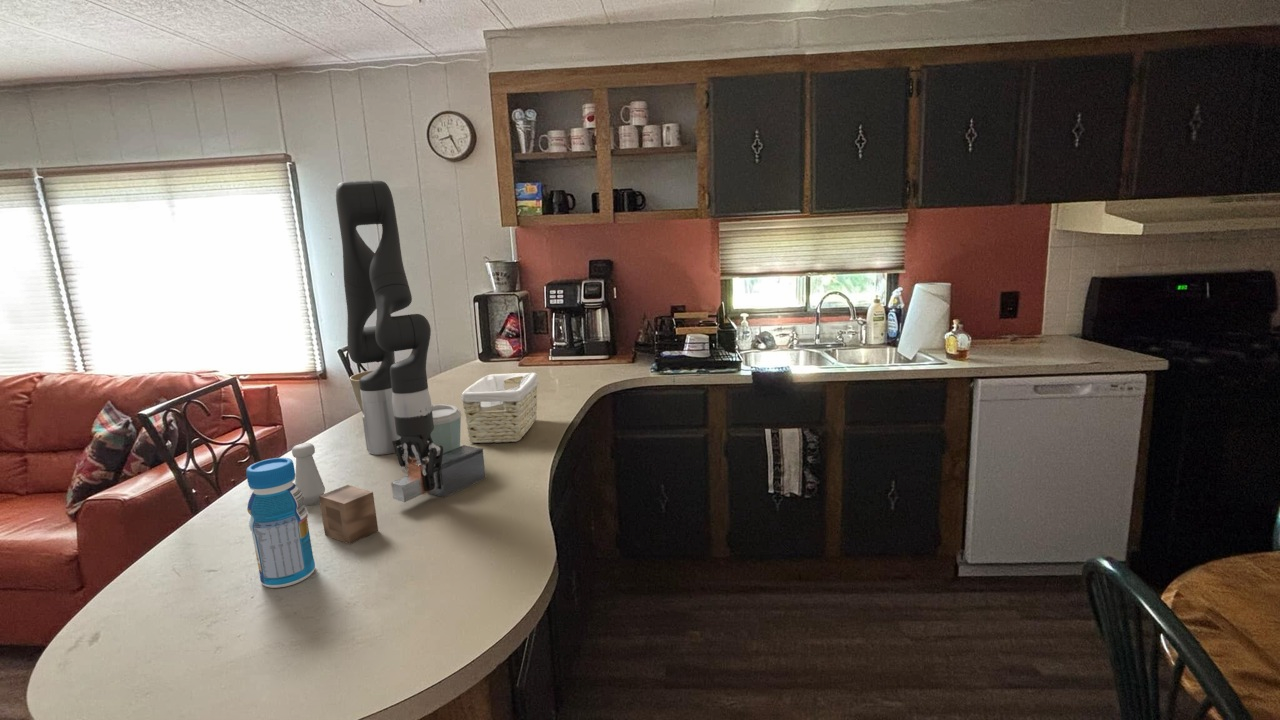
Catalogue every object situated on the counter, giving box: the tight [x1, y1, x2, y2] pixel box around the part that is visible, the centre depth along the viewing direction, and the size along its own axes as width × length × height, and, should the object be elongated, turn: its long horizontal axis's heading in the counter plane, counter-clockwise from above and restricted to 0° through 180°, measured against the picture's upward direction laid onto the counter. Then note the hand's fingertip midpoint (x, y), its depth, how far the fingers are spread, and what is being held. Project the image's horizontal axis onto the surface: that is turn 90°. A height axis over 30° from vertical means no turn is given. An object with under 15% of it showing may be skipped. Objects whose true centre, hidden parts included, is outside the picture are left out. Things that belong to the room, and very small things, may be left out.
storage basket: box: [461, 372, 539, 444], centre depth 181 cm, size 24×16×15 cm
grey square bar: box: [390, 460, 441, 503], centre depth 139 cm, size 21×4×6 cm, turn 147°
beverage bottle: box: [245, 457, 316, 589], centre depth 106 cm, size 8×8×20 cm
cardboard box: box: [319, 484, 379, 545], centre depth 122 cm, size 6×8×8 cm
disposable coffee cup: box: [426, 403, 462, 459], centre depth 153 cm, size 11×11×15 cm
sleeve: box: [427, 444, 486, 498], centre depth 143 cm, size 12×6×7 cm, turn 147°
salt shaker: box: [291, 442, 326, 507], centre depth 137 cm, size 6×6×13 cm
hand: (422, 487), depth 136 cm, fingers closed on grey square bar, 4 cm apart
